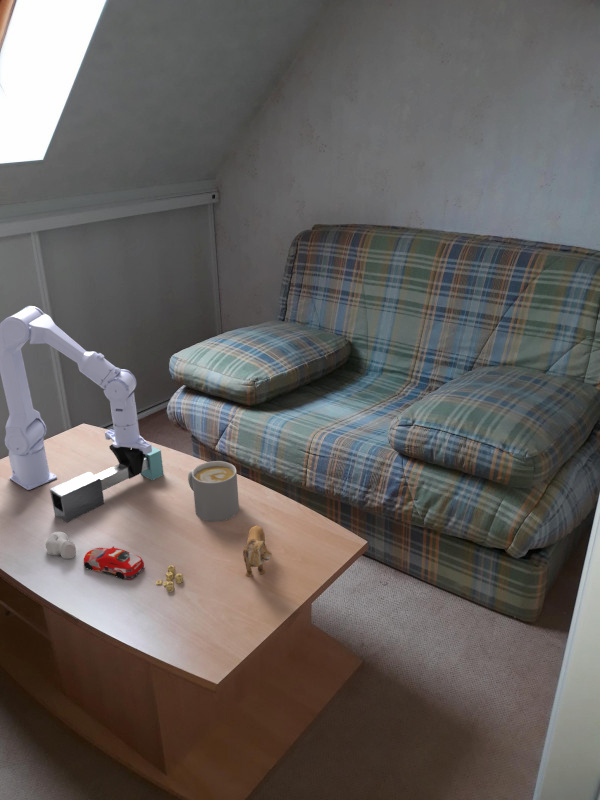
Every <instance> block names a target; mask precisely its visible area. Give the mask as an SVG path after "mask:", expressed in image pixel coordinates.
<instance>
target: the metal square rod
mask: <svg viewBox="0 0 600 800" xmlns="http://www.w3.org/2000/svg"><path fill="white" fill-rule="evenodd" d="M149 468H150V465H149V457H147V456H145V458H144V461H143V466H142V472H143V471H145V470H147V469H149ZM95 475H96V476H97V477H99V478H101V485H102V491H103V492H104V491H106V490H108V489H110V488H111V487H113V486H116V485H118V484H120V483H122V482H124V481H126V480H128V479H129V480H131V479H133V478H134V477H136V476H134V475H133V473H132V469H131V464H130V462H129V459H127V460H125V461H123V462H120V464H119V463H118V464H117V465H113V466H112V467H109V468H107V469H105V470H103V471H101V472H98V473H96V474H95ZM138 475H140V474H138ZM138 475H137V476H138Z"/></svg>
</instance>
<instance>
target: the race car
mask: <svg viewBox="0 0 600 800" xmlns="http://www.w3.org/2000/svg"><path fill="white" fill-rule="evenodd" d="M82 561H83V562H82V563H83V567H85V569H86V568H88V569H87V570H90V569H91V570H90V571H95V572H98V573H100V574H105V575H109V576H112V577H117V578H118V579H121V580H130V579H134V578H136V577H138V575H139V574H140V573H142V571H143V570H144V569H145V563H144V561H143V559H142V557H141V556H139V555H137V554H134V553H132V552H131V551H128V550H125V549H123V548H122V549H121V548H118V547H115V546H112V547H110V548H107V547H95V548H92V549H91V550H89V551H87V552H86V553H85V555H84V556H83V560H82Z"/></svg>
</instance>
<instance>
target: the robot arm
mask: <svg viewBox="0 0 600 800" xmlns="http://www.w3.org/2000/svg"><path fill="white" fill-rule="evenodd" d="M29 340H30V341H29ZM28 341H29V345H39V344H40V345H41V344H47V345H49V346H51V347H52V348H53V349H55V350H56V351H58V352H60V353H62V354H63V355H64V356H66V357H67V358H69V360H72V361H73V362H75V363H76V364H77V367H78V370H79V372H80V373H82V374H83V375H84V376H86V377H87V378H88V379H90V380H91V381H92V382H93V383H95V384H96V385H97V386H99V387H100V388H101V389H103V394H104V396H105V397H106V398H107V400H108V401H109V405H110V410H111V419H112V425H113V429H108V430H106V431H104V435H105V436H104V437H105V440H107V441H109V440H111V441H112V444H110V445H109V450H110V451H111V452H112V453H113V455H114V456H115V457H116V459H117V462H118V464H120V462H123V461H125V460H127V459H129V462H130V464H131V469H132V473H133V475H134V476H135V477H136V476H138V474H139V475H141V473H142V466H143V461H144V458H145V455H146V454H148V453H150V452H152V446H153V445H152V444H151V443H149V442H147V440H145V439H144V437H142V436H141V435H140V430H139V428H140V427H139V419H138V413H137V412H138V411H137V405H136V399H135V392H134V391H135V389H136V387H137V378H136V376H135V375H134V374H133V373H132V371H130V370H128V369H122V368H120V367H116V366H115V365H114V364H112V363H111V362H110V361H109V360H108V359H106V358H105V355H104V354H102V353H101V352H97V351H87V350H86V349H84V348H83V347H82V346H81V345H80V344H79V343H78V342H76V341H75V340H74V339H73V338H71V337H70V335H68V334H67V333H65V331H64V330H62V329H61V328H60V327H59V326H57V324H56V323H55V322H54V320H53V319H52V317H51V316H50V315H49V314H46V313H44V311H42V309H40V308H39V307H38V306H37V307H36V306H33V305H28V306H26V307H24V308H22V309H21V310H19V311H18V312H16V313H14V314H12V315H11V316H8V317H6V318H5V319H3V320H2V321H1V322H0V377H1V378H0V379H1V382H2V387H3V392H4V395H5V400H6V405H7V409H8V413H9V415H8V419H7V421H6V424H5V429H4V430H5V437H4V445H5V447H6V449H7V450H8V459H9V463H10V469H11V473H12V475H11V476H9V479H10V481H13V482H14V483H16V484H17V485H19V486H21V488H24V489H25V490H27V491H30V490H33V489H35V488H37V487H40V486H41V485H44V484H47V483H49V482H52V481H53V480H56V479H57V478H58V476H57V475H56V474H55V473H53V472H51V471H50V469H49V465H48V459H47V452H46V448H45V441H44V437H45V436H46V434H47V425H46V423H45V422H44V420H43V419H42V417H41V412H40V411H38V410H36V409H34V405H33V400H32V395H31V390H30V386H29V380H28V376H27V372H26V367H25V362H24V357H23V352H22V348H23V346H24V345H25V344H26V343H27V342H28Z"/></svg>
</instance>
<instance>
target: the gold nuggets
mask: <svg viewBox="0 0 600 800" xmlns="http://www.w3.org/2000/svg"><path fill="white" fill-rule="evenodd" d="M166 569H167V572H166V573H165V576H166V578H165V579H166V581H162V579H159V580H156V583H155V584H156V586H160V585H163V587H164V588H166V592H168V593H171V592H173V591H174V590H175V585H174V581H172V580H173V579H174V578H175V583H176V584H181V583H183V582H184V575H183V573H181V572H180V573H176V566H175V565H173V564H171V565H168V567H166ZM162 583H163V584H162Z"/></svg>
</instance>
